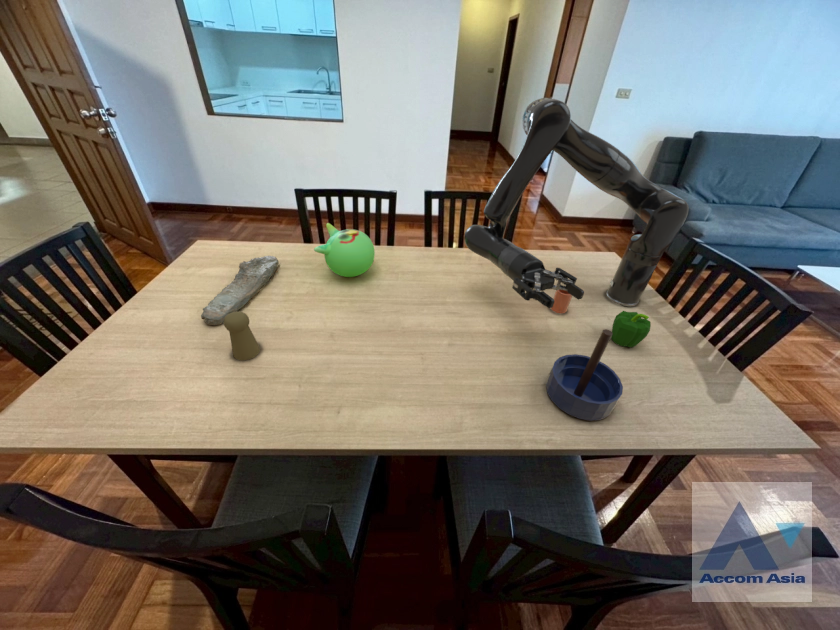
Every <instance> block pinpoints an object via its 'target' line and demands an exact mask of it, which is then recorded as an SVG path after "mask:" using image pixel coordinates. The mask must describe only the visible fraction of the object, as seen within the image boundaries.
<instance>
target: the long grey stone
mask: <svg viewBox="0 0 840 630" xmlns="http://www.w3.org/2000/svg"><path fill="white" fill-rule="evenodd" d="M279 265H280V262H279V260H278V258H277V256H273V255H264V256H260V257H254V258H251V259H250V260H247V261H245V260H243V262H240V263H239V265H238V268H239V269H238V272H237V273H236V274H235V275H234V279H233V280H232V281H231V282H230V283H229V284H227V285H226V286H225V287H224V288H222V290H221V291H220V292H218V293H217V294H216V295H215V296H214V297H213V299H212V300H210V301H209V302H208V304H207V305H206V306H205V307H203V308H202V313H201V315H200V317H201V320H204V323H205V324H206V325H208V326H219V325H222V324H224V318H225V317H226V316H227V315H228V314H230V313H232V312H237V311H240V309H242V307H243V306H245V305H246V304H247V303H248V302H249V301H250V300H251V299H252V298H253V297H254V296H255V295H257V294H258V293H259V291H260V289H262V287H263V286H264V285H265V284H267V283H268V281H270V279H271V277H272V276H273V275H274V274H275V273H276V270H277V269H278V267H279Z"/></svg>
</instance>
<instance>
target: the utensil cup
mask: <svg viewBox="0 0 840 630" xmlns="http://www.w3.org/2000/svg"><path fill="white" fill-rule="evenodd" d="M552 298H553V299H554V304H553V307H552V308H550V309H551V311H553V312H554V313H557V314H566V313H567V311H568V309H569V306H570V303H571V302H572V301H571V300H572V298H573V296H572V295H571V294H569V293H568V292H567V291H565V290H561V289H559V290H555V293H554V296H553V297H552Z"/></svg>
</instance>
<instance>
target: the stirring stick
mask: <svg viewBox="0 0 840 630" xmlns="http://www.w3.org/2000/svg"><path fill="white" fill-rule="evenodd" d="M612 334H613V333H612V330H611V329H608V328H607V329H605V328H604V329H603V330H602V331H601V333H600V336H599V337H598V340H597V342H596V344H595V347H594V348H593V351H592V353H591V355H590V356H589V357H590V359H589V361H588V363H587V366H586V368H585V370H584V372H583V374H582V376H581V378H580V380H579V383H578V385H577V387H576V389H575V391H574V394H575V395H577V396H579V397H581V396H582V395H583V393H584V391H585V389H586V387H587V385H588V383H589V381H590V379H591V377H592V375H593V373H594V371H595V369H596V367H597V365H598V363H599V361H600V362H601V359H602V357H603V355H604V352H605V351H606V349H607V347H608V344H609V343H610V340H612V338H611V337H612Z"/></svg>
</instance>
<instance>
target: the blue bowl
mask: <svg viewBox="0 0 840 630" xmlns="http://www.w3.org/2000/svg"><path fill="white" fill-rule="evenodd" d="M590 357H591V356H588V355H583V354H576V353H574V354H573V353H572V354H565V355H562V356H560V357H558V358H557V359H556V360H555V361H554V363H553V364H552V368H551V370H550V373H549V375H548V377H547V381H546V383H545V387H546V393H547V395H548V396H549V398H550V400H551V402H553V403H554V405H555V406H556V407H557V408H558V409H560V410H561V411H563V412H564V413H566V414H567V415H569V416H571V417H574V418H577V419H579V420H585V421H590V422H591V421H600V420H601V421H602V419H603V420H604V419H605V418H607V417H609V416H610V414H611V413H612V412H613V411H614V409H615V407H616V405H617V404H618V402H619V401H620V399H621V397H622V395H623V389H624V386H623V382H622V380H621V378H620V377H619V376H618V374H617V373H616V372H615V371H614V370H613V369H612V368H611V367H609V365H607V364H606V363H604V362H602V361H601V360H600V361H599V363H598V365H597V367H596V369H595V371H594V373H593V375H592V377H591V379H590V381H589V383H588V385H587V387H586V389H585V391H584V393H583V395H582V396H581V397H579V396H577V395H575V394H574V391H575V389H576V387H577V385H578V383H579V380H580V378H581V376H582V374H583V372H584V370H585V368H586V366H587V363H588V361H589V359H590Z"/></svg>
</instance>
